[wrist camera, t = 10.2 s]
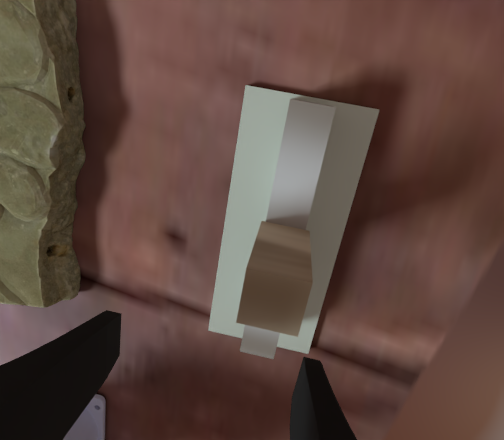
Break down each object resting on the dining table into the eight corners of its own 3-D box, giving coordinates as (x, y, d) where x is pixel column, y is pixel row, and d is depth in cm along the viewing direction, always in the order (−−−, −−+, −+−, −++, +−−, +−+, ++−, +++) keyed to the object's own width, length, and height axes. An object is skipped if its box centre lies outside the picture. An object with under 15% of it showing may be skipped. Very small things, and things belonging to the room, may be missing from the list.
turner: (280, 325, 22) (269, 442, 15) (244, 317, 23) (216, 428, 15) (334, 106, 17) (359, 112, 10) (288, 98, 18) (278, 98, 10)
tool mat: (307, 348, 23) (308, 353, 23) (210, 325, 24) (208, 330, 23) (377, 109, 18) (379, 109, 17) (247, 85, 18) (245, 85, 18)
